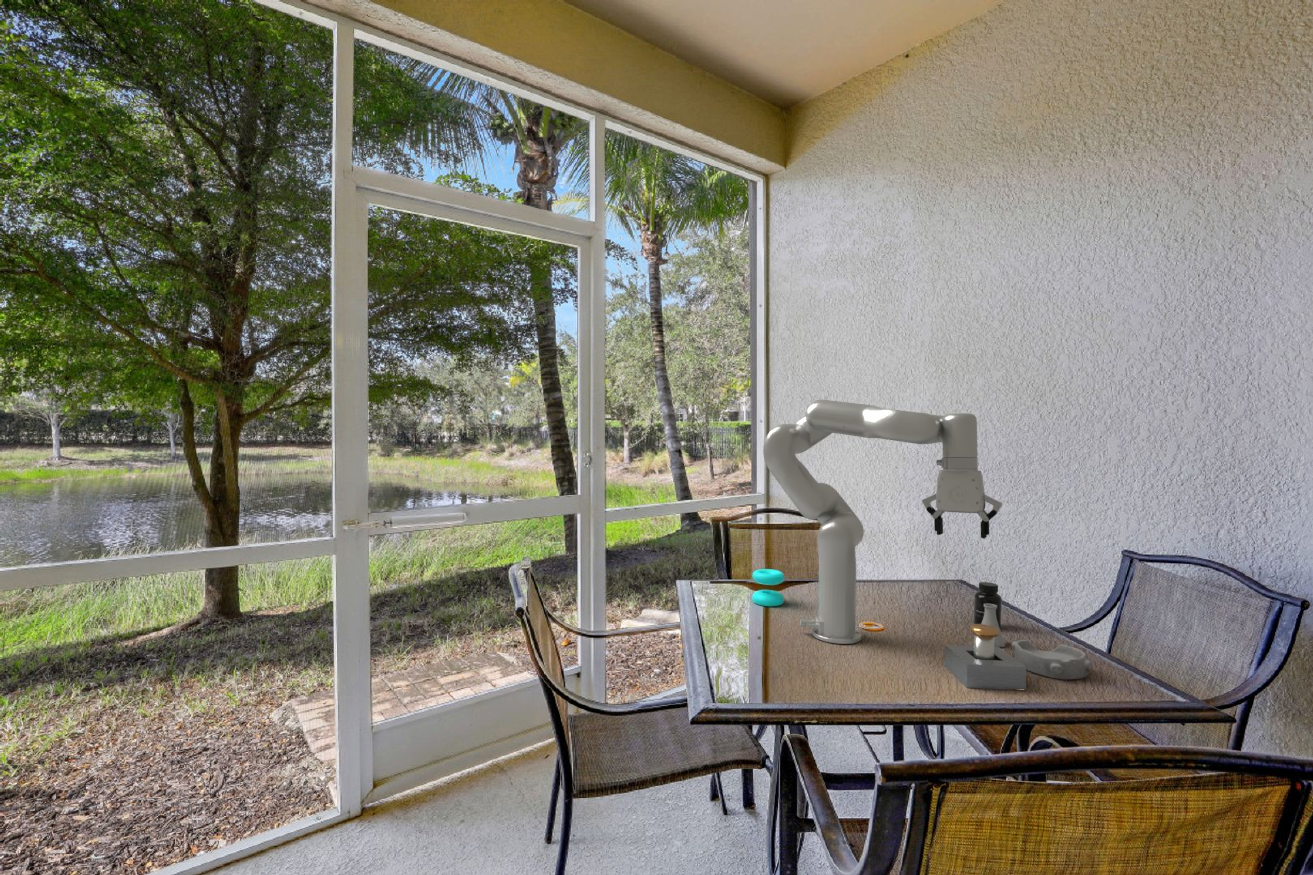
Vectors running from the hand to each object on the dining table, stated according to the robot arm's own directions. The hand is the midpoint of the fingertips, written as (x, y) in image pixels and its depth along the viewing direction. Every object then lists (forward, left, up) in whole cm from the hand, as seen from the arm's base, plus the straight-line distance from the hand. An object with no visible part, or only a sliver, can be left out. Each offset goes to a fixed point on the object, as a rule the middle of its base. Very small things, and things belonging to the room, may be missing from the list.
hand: (961, 535), depth 146 cm
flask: (+13, +13, -30) cm, 35 cm away
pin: (+1, -11, -30) cm, 32 cm away
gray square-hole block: (+1, -11, -30) cm, 32 cm away
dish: (+19, -4, -30) cm, 36 cm away
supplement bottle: (+19, +28, -30) cm, 45 cm away
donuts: (-41, +43, -30) cm, 66 cm away
